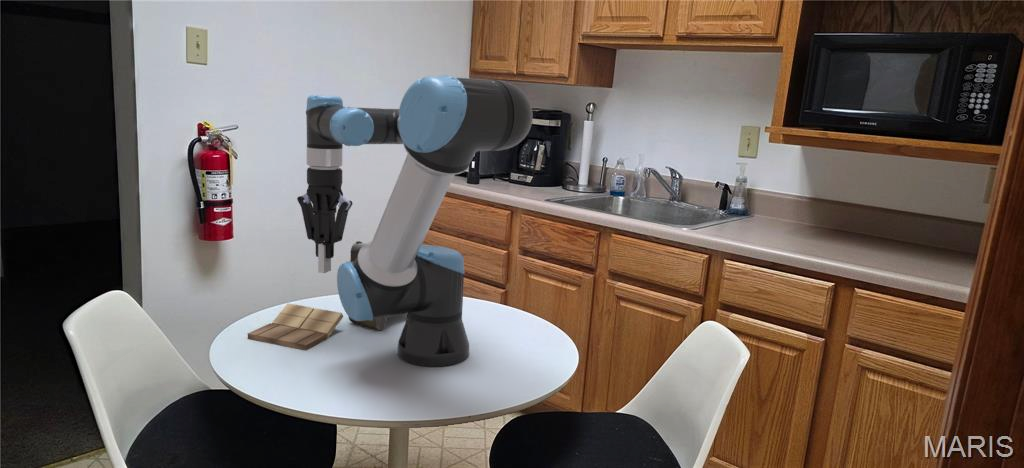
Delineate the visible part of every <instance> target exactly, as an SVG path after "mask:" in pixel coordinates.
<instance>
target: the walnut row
mask: <svg viewBox="0 0 1024 468" xmlns="http://www.w3.org/2000/svg"><path fill="white" fill-rule="evenodd" d="M247 339H248V340H251V341H252V340H253V341H258V342H263V343H267V344H272V345H277V346H283V347H287V348H293V349H297V350H303V351H308V350H309V349H311V348H313V347H315V346H317V345H318V344H321V343H323V342H324V341H326V340H327V339H328V337H327V334H324V333H319V332H314V331H309V330H304V329H299V328H293V327H288V326H283V325H280V324H279V325H277V324H272V322H271V323H268V324H265V325H263V326H261V327H259V328H257V329H254V330H252V331H250V332H248V333H247Z"/></svg>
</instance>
